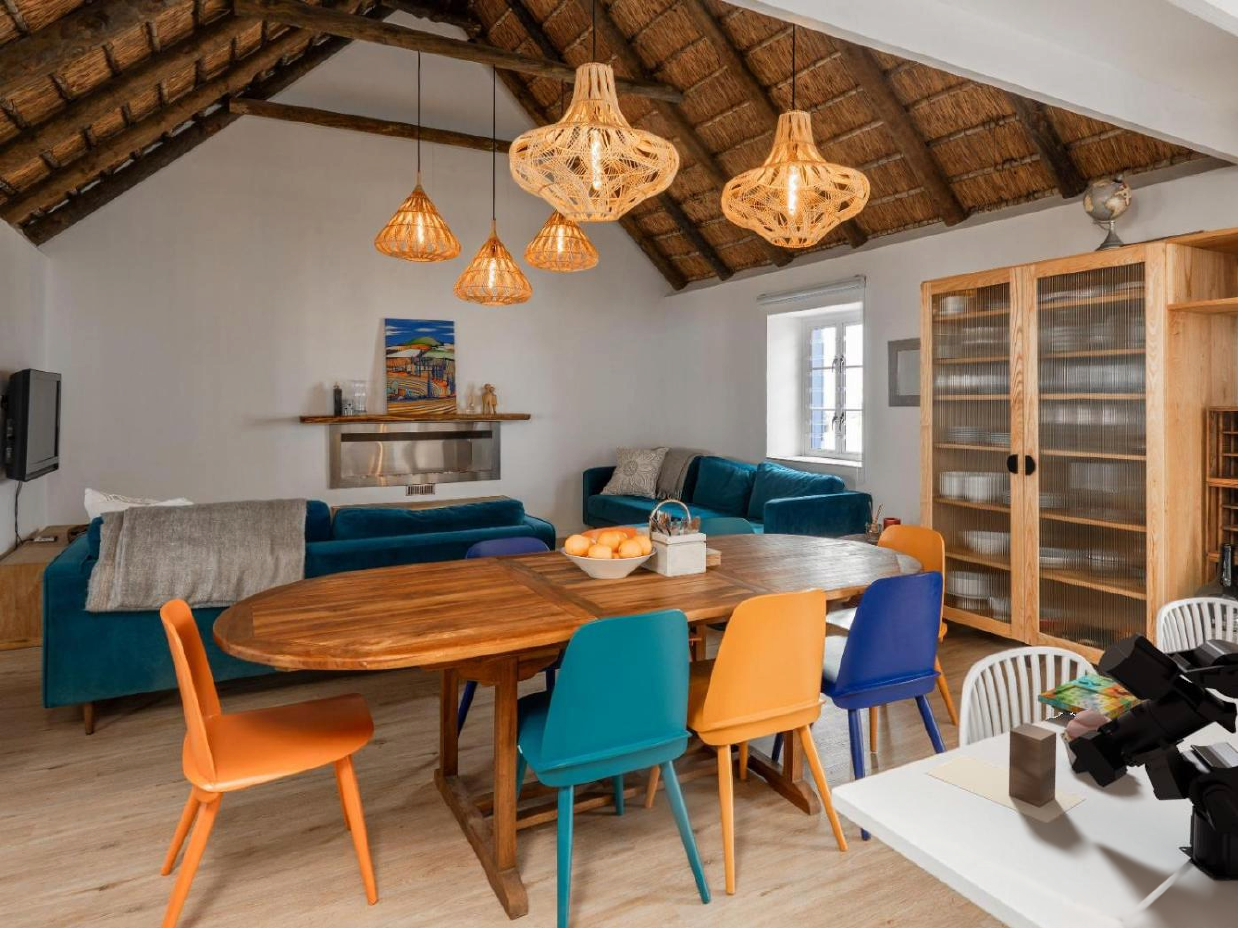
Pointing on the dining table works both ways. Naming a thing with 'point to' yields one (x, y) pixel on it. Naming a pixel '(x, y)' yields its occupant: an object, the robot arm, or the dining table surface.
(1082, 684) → the puzzle game
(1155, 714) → the robot arm
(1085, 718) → the cupcake
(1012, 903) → the dining table surface
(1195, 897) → the dining table surface
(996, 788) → the beige mat
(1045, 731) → the walnut block
